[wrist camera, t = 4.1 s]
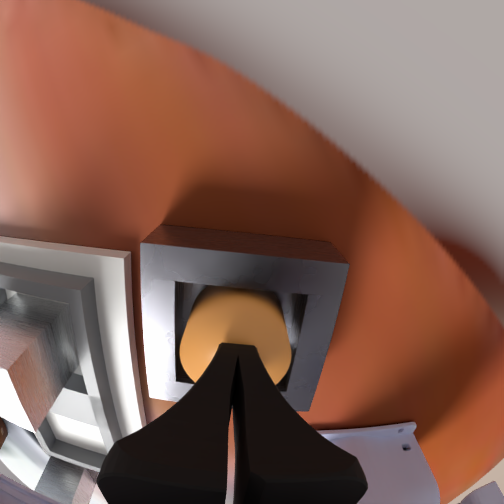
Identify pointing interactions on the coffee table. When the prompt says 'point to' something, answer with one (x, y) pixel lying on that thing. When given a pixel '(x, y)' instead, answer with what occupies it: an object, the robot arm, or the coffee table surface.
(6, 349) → the seated billet
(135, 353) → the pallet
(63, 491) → the billet
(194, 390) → the robot arm
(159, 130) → the coffee table surface
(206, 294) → the button
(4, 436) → the food container
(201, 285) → the button housing
